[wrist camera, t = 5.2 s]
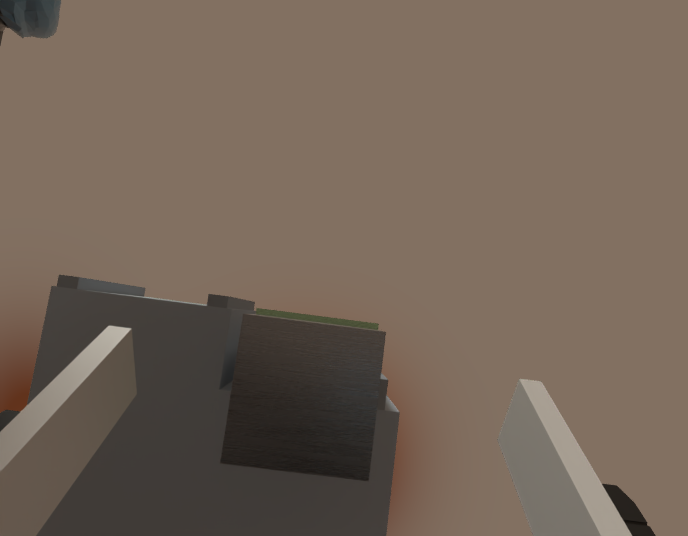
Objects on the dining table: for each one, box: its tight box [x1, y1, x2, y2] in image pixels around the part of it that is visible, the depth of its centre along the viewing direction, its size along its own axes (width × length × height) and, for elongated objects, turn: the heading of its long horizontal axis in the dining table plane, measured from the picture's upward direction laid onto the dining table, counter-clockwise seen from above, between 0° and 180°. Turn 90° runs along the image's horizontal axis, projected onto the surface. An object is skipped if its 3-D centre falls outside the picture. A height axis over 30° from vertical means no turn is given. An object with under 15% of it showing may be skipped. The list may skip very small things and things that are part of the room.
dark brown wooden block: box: [220, 308, 386, 481], centre depth 24 cm, size 24×4×4 cm, turn 2°
